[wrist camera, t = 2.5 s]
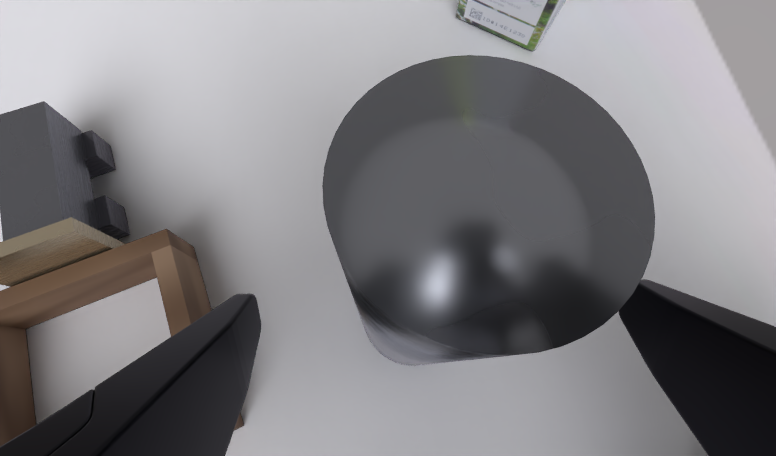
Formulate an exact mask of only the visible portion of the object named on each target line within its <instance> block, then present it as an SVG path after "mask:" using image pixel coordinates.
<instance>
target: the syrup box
mask: <svg viewBox="0 0 776 456" xmlns="http://www.w3.org/2000/svg"><path fill="white" fill-rule="evenodd" d="M565 1H566V0H459V3H458V8H457V13H456V17H457V18H459V19H461V20H463V21H465V22H468V23H470V24H472V25H475V26H477V27H479V28H481V29H484V30H486V31H488V32H490V33H493V34H495V35H497V36H499V37H501V38H504V39H506V40H508V41H510V42H513V43H515V44H517V45H519V46H521V47H524V48H526V49H529V50H531V51H534V50H536V48H537V47H538V45H539V43H540V42H541V40H542V38H543V37H544V35H545V33H546V32H547V30H548V29H549V27H550V25H551V24H552V22H553V20H554V19H555V17H556V15H557V14H558V12H559V11H560V9H561V7H562V6H563V4H564V2H565Z"/></svg>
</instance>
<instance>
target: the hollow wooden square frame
mask: <svg viewBox="0 0 776 456" xmlns="http://www.w3.org/2000/svg"><path fill="white" fill-rule="evenodd" d="M156 277H157V279H158V283H159V287H160V291H161V295H162V300H163V304H164V308H165V312H166V316H167V321H168V325H169V329H170V333H171V337H172V336H174V335H175V334H177V333H178V332H180V331H181V330H183V329H184V328H186V327H187V326H189V325H190V324H192V323H193V322H195V321H196V320H198V319H199V318H201V317H202V316H204V315H205V314H207V313H209V312H210V311H212V310H211V307H210V303H209V300H208V296H207V292H206V289H205V285H204V282H203V278H202V275H201V271H200V268H199V264H198V261H197V257H196V253H195V250H194V247H193V246H192V245H190V244H189V243H187V242H186V241H184V240H183V239H181V238H179V237H178V236H176V235H175V234H173V233H172V232H170V231H169V230H167V229H165V230H162V231H159V232H157V233H154V234H151V235H149V236H146V237H143V238H141V239H138V240H135V241H132V242H130V243H127V244H124V245H122V246H119V247H116V248H114V249H111V250H108V251H106V252H103V253H100V254H98V255H95V256H92V257H90V258H87V259H84V260H82V261H79V262H76V263H74V264H71V265H68V266H66V267H63V268H60V269H58V270H55V271H52V272H50V273H47V274H44V275H42V276H39V277H36V278H34V279H31V280H28V281H26V282H23V283H20V284H18V285H15V286H12V287H10V288H7V289H4V290H2V291H0V446H2V445H4V444H5V443H7V442H9V441H10V440H12V439H14V438H15V437H17V436H19V435H20V434H22V433H24V432H25V431H27V430H29V429H30V428H32V427H34V426H35V425H36V421H35V412H34V403H33V394H32V384H31V375H30V366H29V357H28V348H27V338H26V329H27V328H29V327H32V326H34V325H37V324H39V323H42V322H44V321H47V320H49V319H52V318H55V317H57V316H60V315H62V314H65V313H67V312H70V311H72V310H75V309H77V308H80V307H83V306H85V305H88V304H90V303H93V302H95V301H98V300H100V299H103V298H105V297H108V296H110V295H113V294H116V293H118V292H121V291H123V290H126V289H128V288H131V287H133V286H136V285H138V284H141V283H143V282H146V281H149V280H151V279H154V278H156ZM242 426H244V424H243V420H242V417H241V413H240V414H239V417H238V420H237V423H236V425H235V428H234V430H236V429H238V428H240V427H242Z"/></svg>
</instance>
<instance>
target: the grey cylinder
mask: <svg viewBox="0 0 776 456" xmlns="http://www.w3.org/2000/svg"><path fill="white" fill-rule="evenodd" d="M323 204H324V210H325V215H326V221H327V226H328V229H329V232H330V234H331V237H332V240H333V243H334V246H335V249H336V251H337V254H338V257H339V259H340V262H341V265H342V268H343V270H344V273H345V276H346V279H347V281H348V284H349V287H350V289H351V292H352V295H353V298H354V300H355V303H356V306H357V309H358V311H359V314H360V317H361V319H362V322H363V325H364V328H365V330H366V333H367V335H368V337H369V339H370V341H371V343H372V344H373V346H374V347H375V348H376V349H377V350H378V351H379V352H380V353H381V354H382V355H383V356H385V357H386V358H388V359H390V360H392V361H394V362H396V363H400V364H403V365H413V366H416V365H425V364H435V363H444V362H454V361H463V360H473V359H482V358H491V357H501V356H510V355H519V354H528V353H537V352H542V351H546V350H549V349H553V348H557V347H561V346H564V345H566V344H568V343H571V342H573V341H575V340H578V339H580V338H582V337H584V336H586V335H587V334H589V333H591V332H592V331H594V330H595V329H597V328H598V327H600V326H602V325H603V324H604V323H605V322H607V321H608V320H609V319H610V318H611V317H612V316H613V315H614V314H616V313H617V312H618V311H619V310H620V309H621V308H622V306H623V305H624V304H625V303H626V301H627V300H628V299H629V298H630V296H631V295H632V294H633V292H634V291H635V289H636V287H637V285H638V284H639V282H640V280H641V278H642V277H643V275H644V272H645V269H646V266H647V264H648V261H649V258H650V255H651V250H652V245H653V240H654V228H655V212H654V203H653V195H652V192H651V188H650V184H649V180H648V176H647V174H646V171H645V169H644V166H643V164H642V161H641V159H640V157H639V155H638V153H637V152H636V150H635V148H634V146H633V144H632V143H631V141H630V140H629V138H628V137H627V135H626V134H625V133H624V131H623V130H622V128H621V127H620V126H619V125H618V124H617V122H616V121H615V120H614V119H613V118H612V117H611V116H610V115H609V114H608V112H607V111H606V110H604V109H603V108H602V107H601V106H600V105H599V104H598V103H597V102H596V101H594V100H593V99H592V98H591V97H589V96H588V95H587V94H585V93H584V92H583V91H581V90H580V89H578V88H577V87H576V86H574V85H572V84H570V83H569V82H567V81H565V80H564V79H562V78H560V77H558V76H556V75H554V74H552V73H549V72H547V71H545V70H543V69H540V68H537V67H534V66H531V65H528V64H526V63H522V62H518V61H514V60H509V59H505V58H498V57H490V56H472V55H467V56H451V57H445V58H439V59H433V60H429V61H426V62H422V63H419V64H415V65H413V66H411V67H408V68H406V69H403V70H401V71H398V72H397V73H395V74H393V75H391V76H390V77H388V78H386V79H384V80H383V81H381V82H380V83H378V84H377V85H376V86H374V87H373V88H372V89H370V90H369V91H368V92H367V93H366V94H365V95H364V96H363V97H362V98H361V99H360V100H358V101H357V102H356V104H355V105H354V106H353V107H352V109H351V110H350V111H349V112H348V114H347V115H346V116H345V118H344V119H343V121H342V123H341V124H340V126H339V128H338V129H337V131H336V133H335V136H334V138H333V140H332V143H331V145H330V148H329V151H328V155H327V159H326V163H325V167H324V177H323Z"/></svg>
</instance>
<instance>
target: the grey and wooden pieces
mask: <svg viewBox="0 0 776 456" xmlns="http://www.w3.org/2000/svg"><path fill="white" fill-rule="evenodd" d="M112 170H115V165H114V160H113V156H112V151H111V147H110V145H109V144H108V143H106V142H105V141H104V140H103V139H102V138H100V137H99V136H98V135H97V134H96V133H94V132H93V131H92V130H91V131H88V132H85V133H82V134H81V130H79V129H78V128H77V127H76V126H74V125H73V124H72V123H71V122H69V121H68V120H67V119H66V118H64V117H63V116H62V115H61V114H59V113H58V112H57V111H56V110H54V109H53V108H52V107H51V106H49V105H48V104H47V103H46V102H40V103H37V104H34V105H30V106H27V107H24V108H20V109H17V110H14V111H11V112H7V113H4V114H1V115H0V213H1V223H2V234H3V242H0V284H1V285H6V286H10V287H12V286H15V285H18V284H20V283H23V282H26V281H28V280H31V279H34V278H36V277H39V276H42V275H44V274H47V273H50V272H52V271H55V270H58V269H60V268H63V267H66V266H68V265H71V264H74V263H76V262H79V261H82V260H84V259H87V258H90V257H92V256H95V255H98V254H100V253H103V252H106V251H108V250H111V249H114V248H116V247H119V246H122V245H124V244H125V243H123V242H121V241H119V240H117V239H119V238H122V237H124V236H127V235H130V232H129V228H128V223H127V219H126V214H125V210H124V207H123V206H121V205H119V204H118V203H116V202H115V201H113V200H112V199H110V198H108V197H107V196H102V197H99V198H96V199H94V197H93V191H92V186H91V181H90V178H92V177H95V176H98V175H101V174H104V173H107V172H110V171H112Z"/></svg>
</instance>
